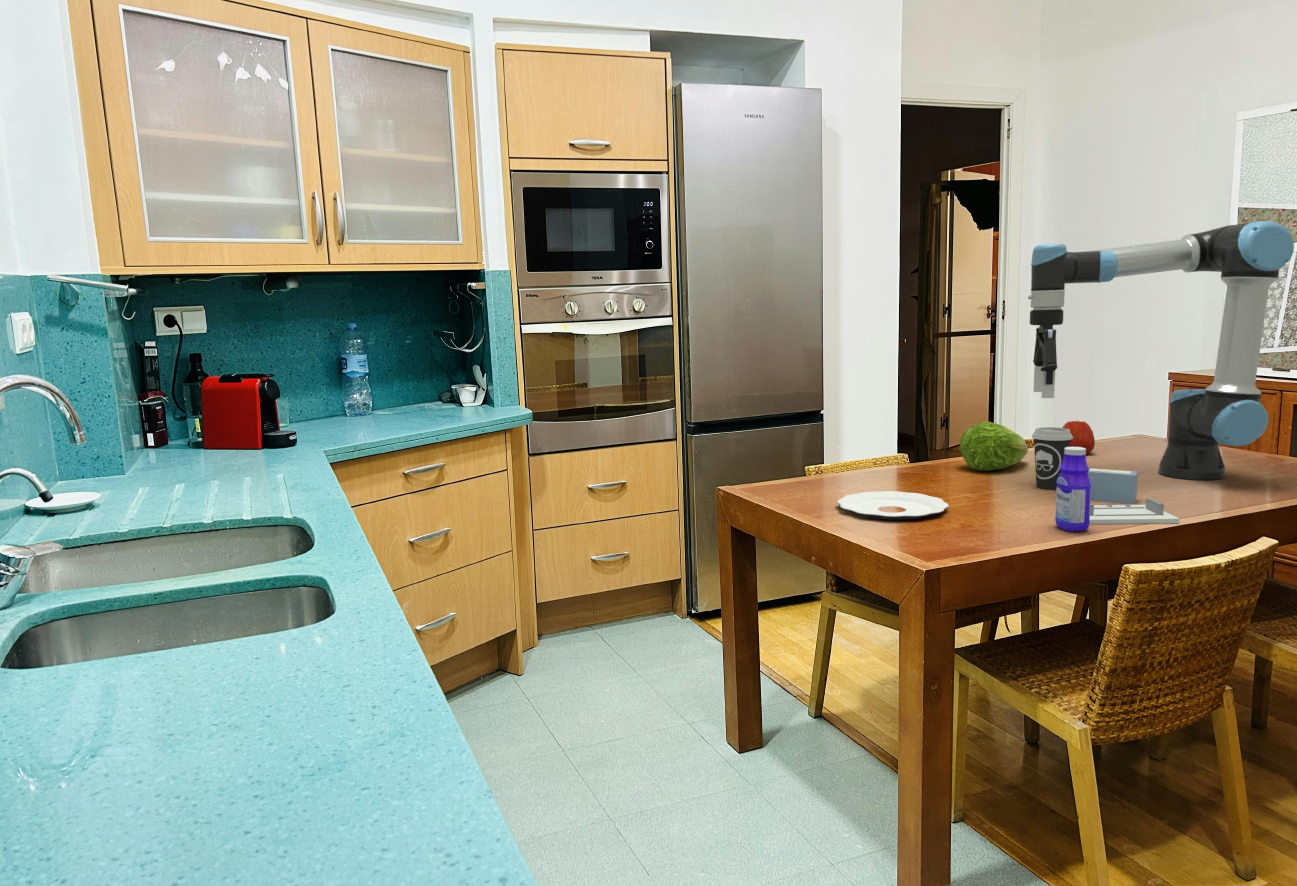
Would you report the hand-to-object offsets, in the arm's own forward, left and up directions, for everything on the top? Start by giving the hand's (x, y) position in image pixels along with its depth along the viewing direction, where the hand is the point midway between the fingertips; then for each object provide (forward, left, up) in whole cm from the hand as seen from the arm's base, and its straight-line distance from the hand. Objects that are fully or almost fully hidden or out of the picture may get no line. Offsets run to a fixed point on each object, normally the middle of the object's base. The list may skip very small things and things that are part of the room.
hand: (1043, 395), depth 218 cm
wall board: (-8, +27, -24) cm, 37 cm away
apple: (-28, -51, -25) cm, 63 cm away
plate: (+40, +18, -25) cm, 50 cm away
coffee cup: (-4, -4, -25) cm, 25 cm away
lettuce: (+1, -31, -25) cm, 40 cm away
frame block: (-12, +11, -24) cm, 29 cm away
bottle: (+6, +37, -25) cm, 45 cm away
